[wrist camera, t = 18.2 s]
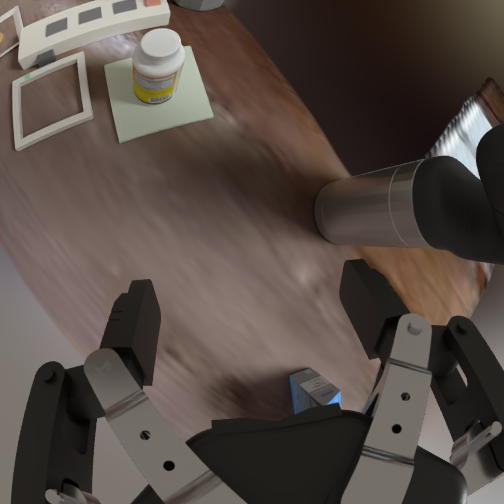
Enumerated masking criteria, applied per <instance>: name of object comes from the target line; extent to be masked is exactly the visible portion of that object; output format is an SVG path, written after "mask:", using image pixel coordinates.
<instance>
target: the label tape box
mask: <svg viewBox="0 0 504 504" xmlns="http://www.w3.org/2000/svg"><path fill="white" fill-rule="evenodd" d="M289 377H290V385H291V392H292V400H293V407H294V414H297V413H299V412H302V411H304V410H306V409H309V408H313V407H318V406H323V405H328V404H332V403H336V402H339V404H340V407H341V391H340V390H339V389H338V388H337V387H335V386H334V385H333V384H331V383H330V382H329V381H327V380H326V379H325V378H324V377H322V376H321V375H320V374H318V373H317V372H316V371H314V370H313V369H312V368H308V369H305V370H302V371H300V372H297V373H295V374H292V375H290V376H289Z"/></svg>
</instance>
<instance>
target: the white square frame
mask: <svg viewBox="0 0 504 504" xmlns="http://www.w3.org/2000/svg"><path fill="white" fill-rule="evenodd" d="M75 63H78V73H79V82H80V89H81V97H82V103H83V110H84V112H81V113H79V114H76V115H74V116H71V117H69V118H66V119H64V120H61V121H59V122H57V123H54V124H52V125H50V126H48V127H45V128H43V129H41V130H39V131H37V132H35V133H33V134H30V135H28V136H26V137H24V138H23V128H22V114H21V87H22V86H24V85H26V84H28V83H30V82H32V81H34V80H36V79H39V78H41V77H43V76H45V75H48V74H50V73H52V72H55V71H57V70H59V69H62V68H64V67H67V66H70V65H72V64H75ZM12 102H13V127H14V140H15V150H17V151H18V152H19V151H20V150H22V149H24V148H26V147H28V146H30V145H32V144H34V143H37V142H39V141H41V140H43V139H45V138H47V137H50V136H52V135H54V134H56V133H59V132H61V131H63V130H66V129H68V128H71V127H73V126H76V125H78V124H81V123H83V122H86V121H89V120H92V119H94V117H93V111H92V106H91V100H90V94H89V87H88V80H87V72H86V64H85V55H84V51H82V52H79V53H77V54H74V55H71V56H68V57H66V58H63V59H61V60H58V61H56V62H53V63H51V64H49V65H46V66H44V67H42V68H40V69H37V70H35V71H33V72H31V73H29V74H27V75H25V76H23V77H21V78H19V79H17V80H15V81H13V87H12Z"/></svg>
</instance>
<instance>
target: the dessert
mask: <svg viewBox="0 0 504 504" xmlns="http://www.w3.org/2000/svg"><path fill="white" fill-rule="evenodd" d="M12 14H13V15H14V20H15V25H16V30H17V34H18V39H19V42H17V43H16V44H14V45H13V46H12V47H10V48H9V49H7V50H6V51H4V52H3V53H2V54H0V57H2V56H3V55H4V54H6V53H7V52H8V51H10V50H11V49H13V48H14V47H16V46H17V45H19V43H20V34H21V29H22V28H23V24H22V20H21V15H20V11H19V6H16V7H14V8H13V9H11V10H10V11H8V12H7V13H5V14H4V15H2V16H1V17H0V22H2V21H3V20H5V19H6V18H8V17H9V16H11V15H12ZM2 40H3V33H1V32H0V43H1V42H2Z"/></svg>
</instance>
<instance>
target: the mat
mask: <svg viewBox="0 0 504 504" xmlns="http://www.w3.org/2000/svg"><path fill="white" fill-rule="evenodd" d="M184 50H185V60H184V64H183V67H182V71H181V75H180V79H179V82H178V87H177V90H176V93H175V94H174V96H173V97H172V98H171V99H170V100H169V101H167V102H165V103H163V104H160V105H147V104H144V103H142V102H140V101H139V100H138V99H137V97H136V96H135V94H134V89H133V66H132V58H133V57H132V58H128V59H124V60H120V61H117V62H113V63H110V64H107V65H104V69H105V75H106V81H107V86H108V92H109V97H110V102H111V107H112V112H113V116H114V121H115V125H116V130H117V134H118V138H119V142H120V143H123V142H126V141H129V140H132V139H135V138H139V137H142V136H145V135H148V134H152V133H155V132H159V131H162V130H166V129H170V128H173V127H177V126H181V125H185V124H189V123H193V122H198V121H202V120H207V119H211V118H213V117H214V116H213V113H212V110H211V107H210V104H209V101H208V98H207V95H206V92H205V89H204V86H203V82H202V79H201V76H200V73H199V70H198V67H197V64H196V61H195V58H194V55H193V52H192V49H191V46H186V47H184Z"/></svg>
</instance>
